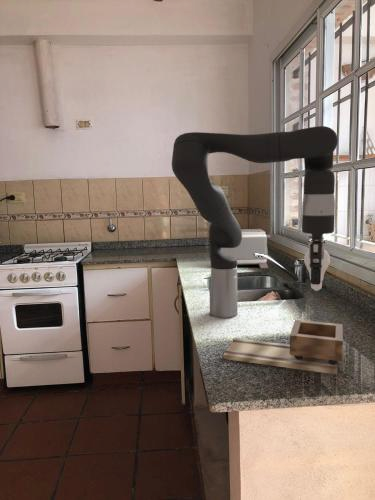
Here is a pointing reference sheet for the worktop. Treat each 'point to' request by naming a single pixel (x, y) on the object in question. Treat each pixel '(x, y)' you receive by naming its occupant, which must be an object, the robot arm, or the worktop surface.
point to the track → (275, 356)
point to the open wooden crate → (317, 340)
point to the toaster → (250, 248)
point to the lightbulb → (325, 264)
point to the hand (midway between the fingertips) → (316, 281)
